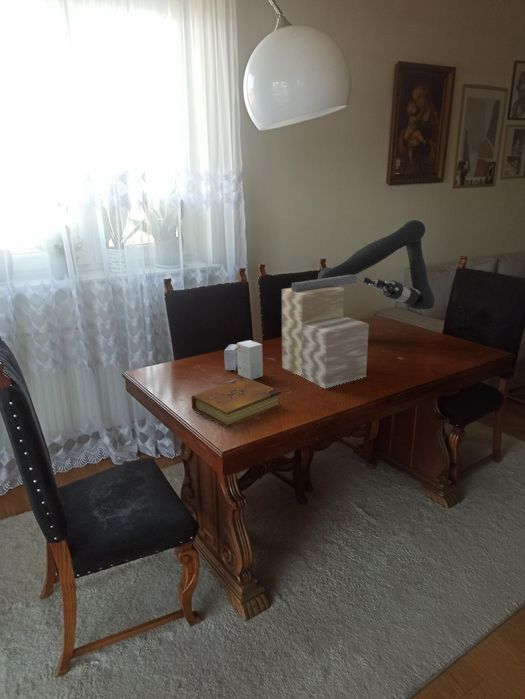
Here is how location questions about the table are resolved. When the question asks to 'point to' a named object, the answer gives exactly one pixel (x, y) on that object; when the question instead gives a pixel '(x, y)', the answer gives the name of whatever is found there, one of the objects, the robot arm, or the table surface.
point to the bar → (323, 283)
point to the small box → (250, 359)
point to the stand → (322, 337)
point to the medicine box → (231, 357)
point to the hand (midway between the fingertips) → (370, 280)
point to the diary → (236, 401)
